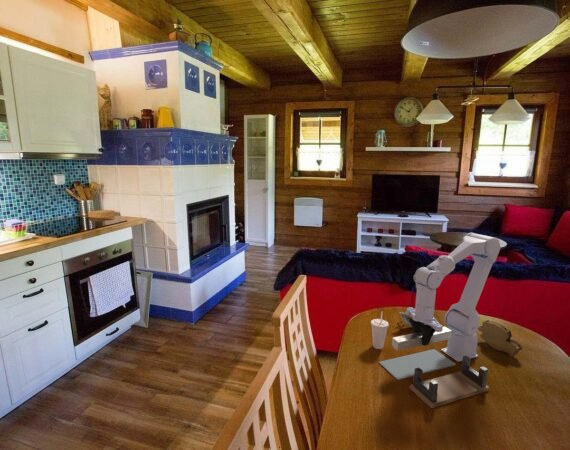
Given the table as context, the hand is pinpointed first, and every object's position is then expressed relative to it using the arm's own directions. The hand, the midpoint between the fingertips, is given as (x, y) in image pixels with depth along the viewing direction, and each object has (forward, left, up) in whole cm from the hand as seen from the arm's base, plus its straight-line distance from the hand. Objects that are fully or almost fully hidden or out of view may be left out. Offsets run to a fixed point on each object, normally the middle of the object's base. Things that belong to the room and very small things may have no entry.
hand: (421, 342), depth 116 cm
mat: (0, -1, -9) cm, 9 cm away
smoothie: (+6, -15, -9) cm, 19 cm away
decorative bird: (-17, -22, -9) cm, 29 cm away
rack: (0, +13, -9) cm, 16 cm away
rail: (0, 0, 0) cm, 0 cm away
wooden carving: (-35, +1, -9) cm, 36 cm away
